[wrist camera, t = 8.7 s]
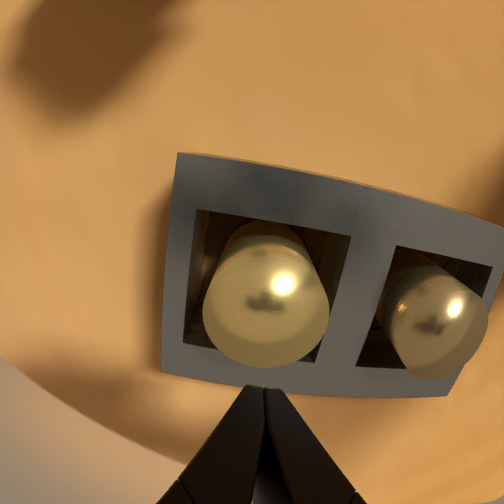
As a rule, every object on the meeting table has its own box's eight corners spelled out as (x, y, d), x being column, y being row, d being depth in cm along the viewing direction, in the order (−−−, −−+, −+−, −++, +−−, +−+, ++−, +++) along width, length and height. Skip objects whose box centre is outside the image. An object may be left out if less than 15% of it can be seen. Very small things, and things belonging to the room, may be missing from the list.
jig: (473, 215, 15) (515, 231, 11) (422, 359, 18) (446, 396, 14) (198, 153, 15) (177, 152, 11) (178, 330, 18) (160, 371, 14)
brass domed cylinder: (315, 228, 16) (343, 268, 10) (297, 305, 17) (311, 373, 11) (229, 213, 16) (210, 246, 10) (217, 292, 17) (197, 357, 11)
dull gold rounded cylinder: (440, 254, 16) (500, 296, 10) (416, 321, 17) (462, 379, 12) (376, 241, 16) (427, 284, 10) (354, 314, 17) (388, 380, 12)
